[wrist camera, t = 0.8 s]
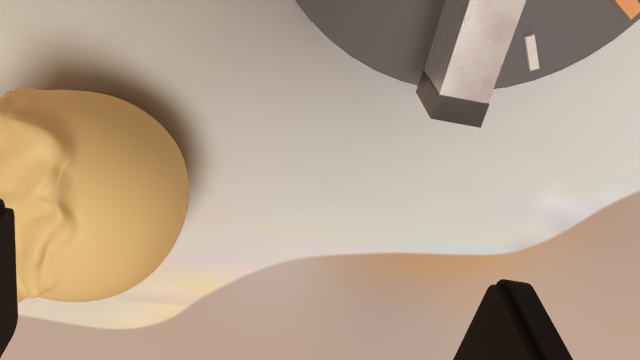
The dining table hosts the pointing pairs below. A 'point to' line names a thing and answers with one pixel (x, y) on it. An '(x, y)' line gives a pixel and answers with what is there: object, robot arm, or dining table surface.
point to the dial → (467, 58)
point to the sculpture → (87, 192)
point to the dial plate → (422, 20)
